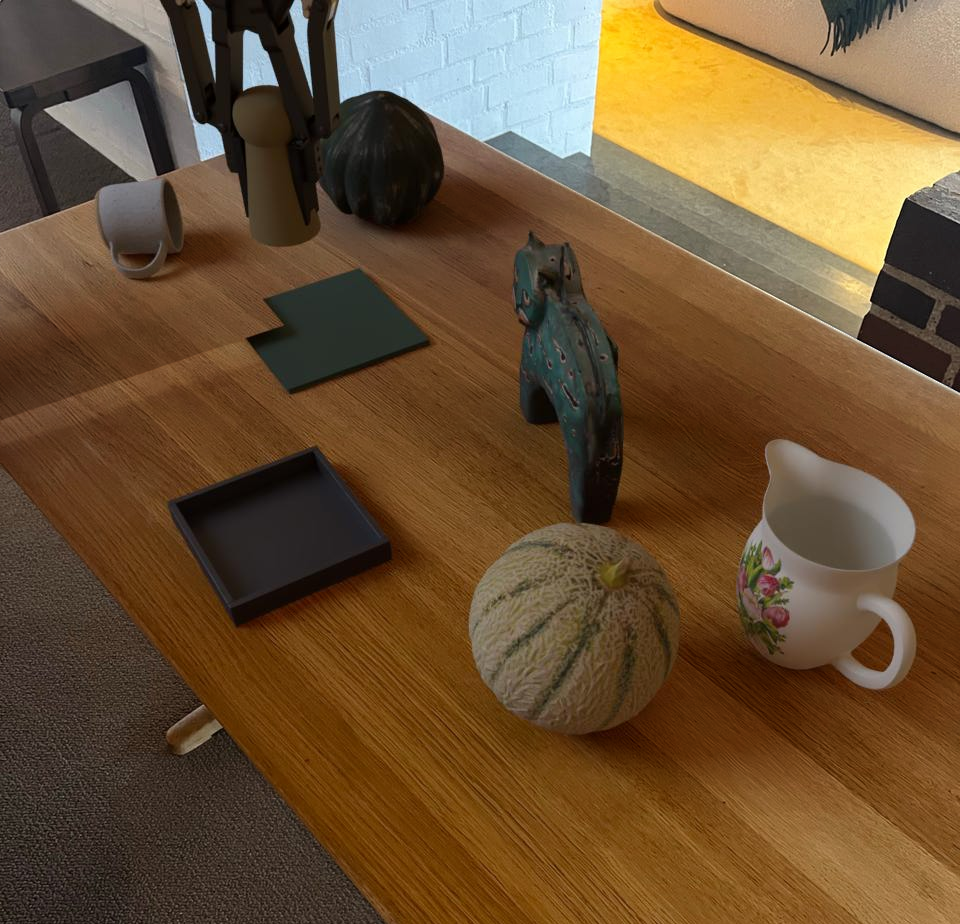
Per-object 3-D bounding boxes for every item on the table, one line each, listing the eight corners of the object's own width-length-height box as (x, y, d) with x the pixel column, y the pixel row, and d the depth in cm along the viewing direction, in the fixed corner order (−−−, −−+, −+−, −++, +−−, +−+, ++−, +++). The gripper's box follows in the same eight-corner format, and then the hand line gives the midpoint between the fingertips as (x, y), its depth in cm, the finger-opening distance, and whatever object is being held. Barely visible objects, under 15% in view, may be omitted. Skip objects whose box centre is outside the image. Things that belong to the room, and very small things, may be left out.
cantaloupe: (464, 620, 80) (460, 480, 68) (645, 609, 80) (672, 469, 68) (477, 780, 70) (476, 649, 59) (682, 766, 71) (720, 634, 59)
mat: (227, 315, 106) (225, 310, 106) (359, 272, 112) (359, 267, 111) (289, 394, 98) (288, 389, 97) (430, 344, 103) (429, 339, 103)
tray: (172, 520, 87) (166, 501, 85) (319, 464, 91) (316, 444, 90) (235, 627, 79) (230, 608, 77) (392, 559, 84) (390, 540, 82)
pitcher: (810, 758, 71) (867, 639, 61) (679, 588, 82) (709, 460, 71) (931, 707, 74) (1007, 584, 63) (790, 548, 84) (835, 419, 74)
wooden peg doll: (266, 254, 82) (241, 116, 73) (238, 222, 85) (211, 85, 76) (333, 234, 84) (315, 97, 75) (303, 203, 87) (283, 69, 78)
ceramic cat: (503, 397, 97) (507, 199, 82) (566, 387, 98) (582, 189, 83) (564, 537, 85) (582, 336, 70) (635, 523, 86) (668, 323, 71)
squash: (350, 119, 123) (312, 53, 109) (465, 139, 121) (442, 74, 106) (326, 233, 124) (284, 184, 110) (440, 255, 122) (413, 207, 108)
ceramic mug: (116, 233, 117) (96, 169, 111) (186, 229, 117) (170, 165, 111) (103, 284, 110) (81, 219, 104) (177, 280, 111) (159, 215, 105)
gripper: (368, -136, 66) (393, 204, 84) (135, -153, 69) (208, 180, 87) (329, -102, 61) (364, 250, 80) (81, -122, 64) (170, 222, 82)
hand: (283, 213), depth 83 cm, fingers closed on wooden peg doll, 4 cm apart
